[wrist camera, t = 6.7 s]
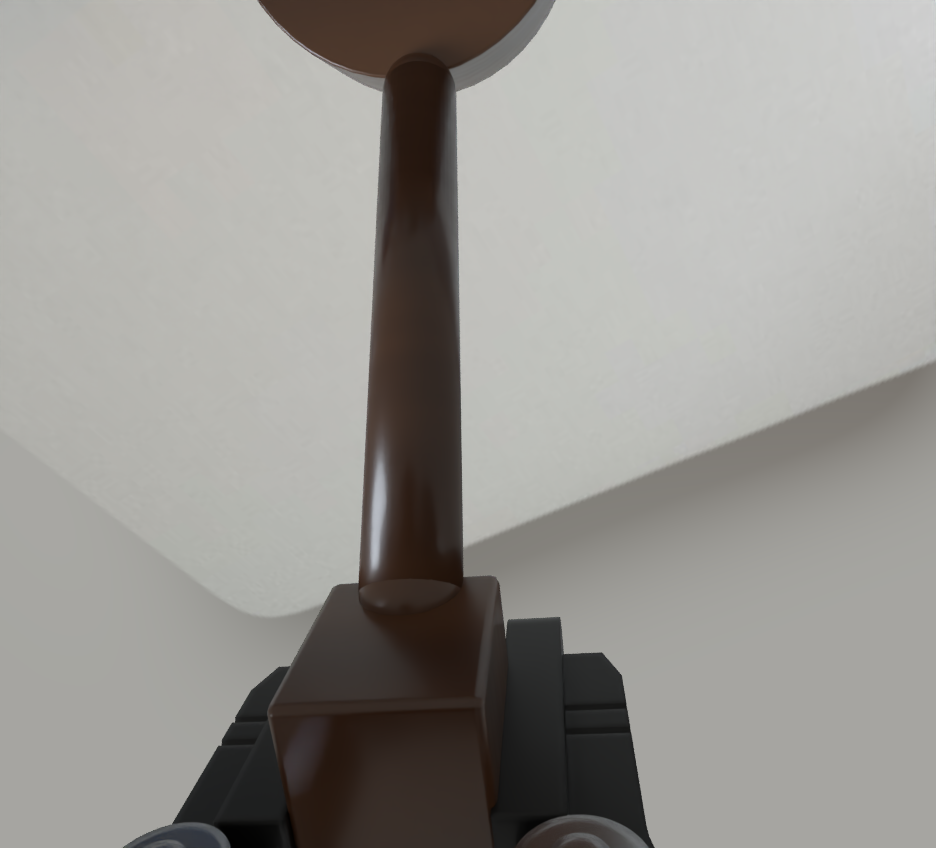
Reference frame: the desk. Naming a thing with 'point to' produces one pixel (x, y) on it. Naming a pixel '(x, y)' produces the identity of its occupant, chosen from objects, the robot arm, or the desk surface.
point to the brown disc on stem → (405, 471)
